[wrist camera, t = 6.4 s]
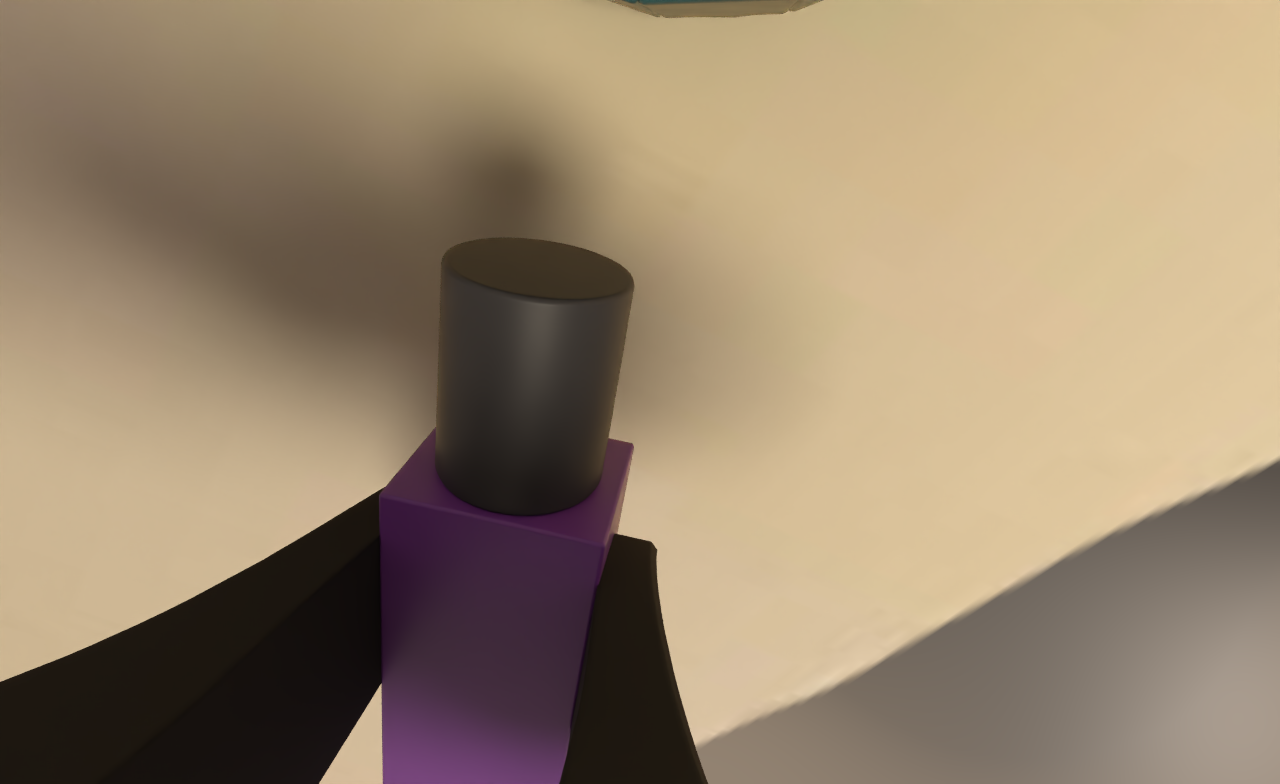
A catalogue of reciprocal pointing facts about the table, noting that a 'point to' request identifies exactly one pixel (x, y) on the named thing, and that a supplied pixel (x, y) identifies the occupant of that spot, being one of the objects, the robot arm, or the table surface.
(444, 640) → the nail polish bottle
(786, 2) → the tin
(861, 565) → the table surface
